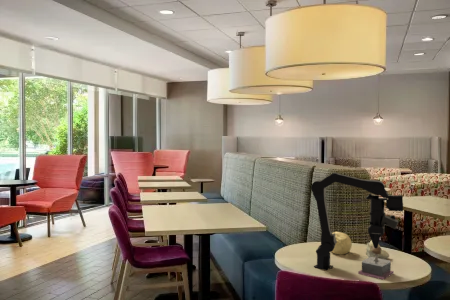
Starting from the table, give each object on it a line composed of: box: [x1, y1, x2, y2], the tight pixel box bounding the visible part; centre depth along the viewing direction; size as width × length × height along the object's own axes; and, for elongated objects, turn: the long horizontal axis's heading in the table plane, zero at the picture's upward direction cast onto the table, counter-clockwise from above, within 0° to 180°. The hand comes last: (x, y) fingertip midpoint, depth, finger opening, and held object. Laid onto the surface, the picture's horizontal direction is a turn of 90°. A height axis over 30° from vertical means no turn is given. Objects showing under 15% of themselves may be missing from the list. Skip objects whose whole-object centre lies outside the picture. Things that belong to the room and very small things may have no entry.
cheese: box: [365, 239, 390, 260], centre depth 203 cm, size 15×7×15 cm
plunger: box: [372, 246, 382, 262], centre depth 183 cm, size 7×7×7 cm
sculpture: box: [331, 231, 352, 255], centre depth 215 cm, size 12×12×11 cm
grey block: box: [358, 257, 395, 280], centre depth 183 cm, size 11×11×6 cm
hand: (376, 245), depth 182 cm, fingers open, 9 cm apart
